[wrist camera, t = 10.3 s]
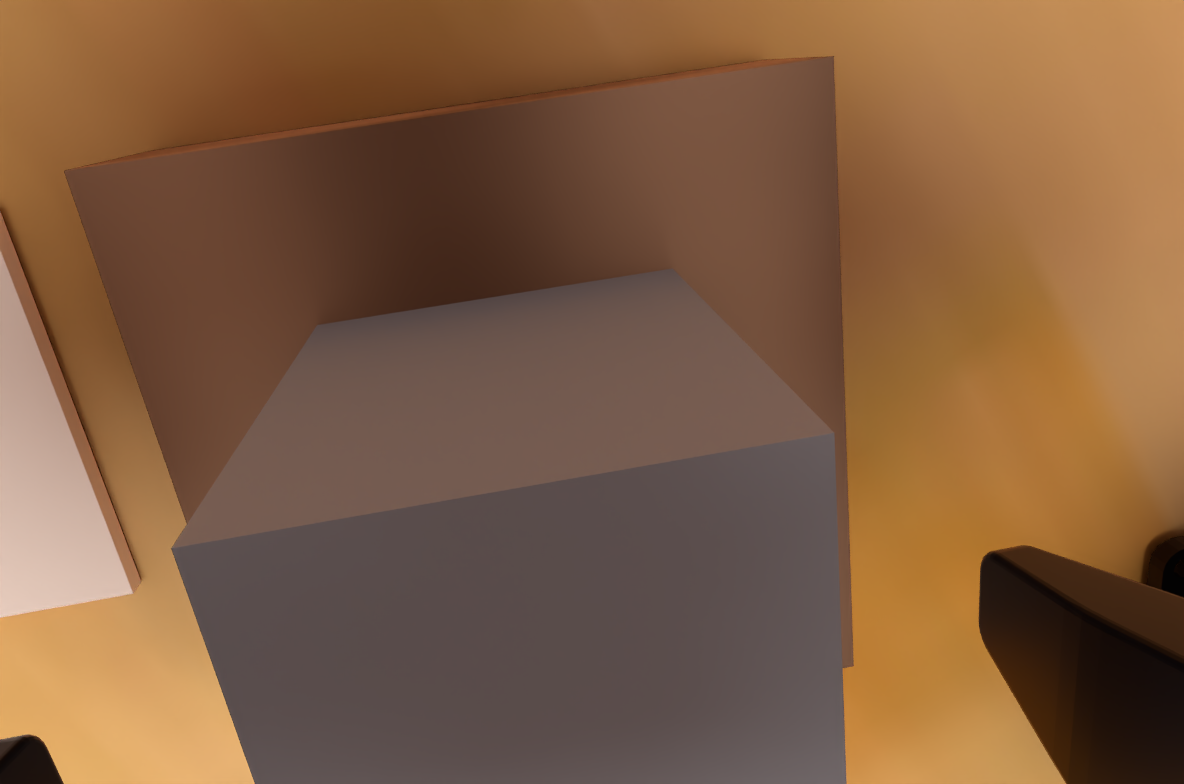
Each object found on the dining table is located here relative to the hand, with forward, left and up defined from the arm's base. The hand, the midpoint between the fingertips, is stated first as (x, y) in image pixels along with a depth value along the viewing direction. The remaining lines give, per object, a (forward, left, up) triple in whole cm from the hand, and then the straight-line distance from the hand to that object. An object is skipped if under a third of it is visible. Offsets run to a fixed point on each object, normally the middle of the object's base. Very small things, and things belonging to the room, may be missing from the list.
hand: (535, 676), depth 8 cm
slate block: (0, 0, -5) cm, 5 cm away
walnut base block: (0, 0, -8) cm, 8 cm away
